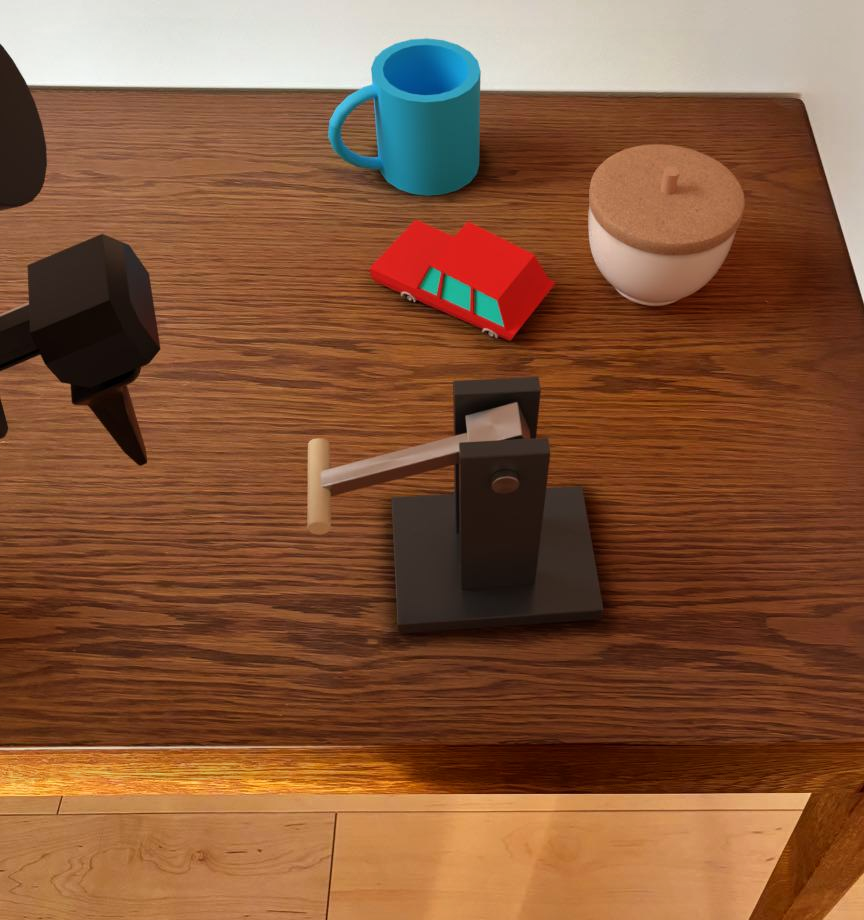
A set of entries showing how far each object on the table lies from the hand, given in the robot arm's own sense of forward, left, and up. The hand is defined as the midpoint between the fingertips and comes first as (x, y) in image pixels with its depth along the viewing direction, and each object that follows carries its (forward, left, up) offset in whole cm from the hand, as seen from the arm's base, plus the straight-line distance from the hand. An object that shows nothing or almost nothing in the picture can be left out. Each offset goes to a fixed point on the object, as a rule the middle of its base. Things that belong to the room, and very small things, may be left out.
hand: (55, 495), depth 48 cm
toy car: (+19, +28, -13) cm, 36 cm away
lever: (+17, +4, -3) cm, 18 cm away
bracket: (+21, +4, -12) cm, 25 cm away
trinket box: (+33, +30, -13) cm, 46 cm away
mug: (+14, +42, -13) cm, 46 cm away
